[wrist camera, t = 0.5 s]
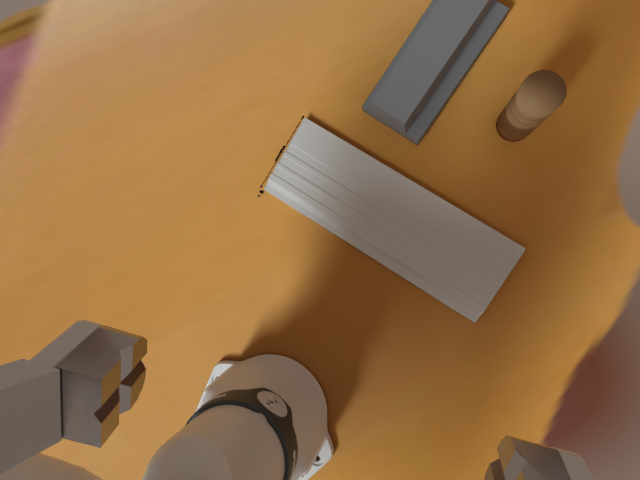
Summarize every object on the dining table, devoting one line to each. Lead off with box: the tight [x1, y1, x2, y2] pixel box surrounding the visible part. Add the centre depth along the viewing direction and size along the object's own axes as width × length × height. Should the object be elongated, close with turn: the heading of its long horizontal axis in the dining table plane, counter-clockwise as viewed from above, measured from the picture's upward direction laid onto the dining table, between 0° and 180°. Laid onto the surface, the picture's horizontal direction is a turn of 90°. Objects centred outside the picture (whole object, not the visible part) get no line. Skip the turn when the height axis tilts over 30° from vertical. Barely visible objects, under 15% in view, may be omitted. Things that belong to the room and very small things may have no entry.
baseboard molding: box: [258, 116, 526, 323], centre depth 56 cm, size 31×3×12 cm
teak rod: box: [496, 70, 566, 141], centre depth 48 cm, size 4×4×12 cm
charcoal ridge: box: [362, 0, 510, 145], centre depth 53 cm, size 18×8×7 cm, turn 145°
